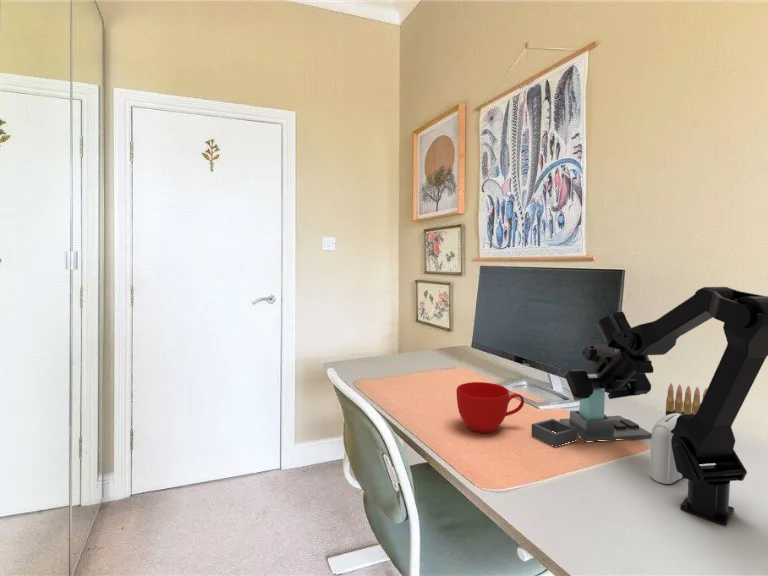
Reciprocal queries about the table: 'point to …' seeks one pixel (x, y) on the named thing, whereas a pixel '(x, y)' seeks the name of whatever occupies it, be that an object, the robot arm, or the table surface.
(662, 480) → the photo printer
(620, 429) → the switch
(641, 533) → the table surface
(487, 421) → the ceramic cup
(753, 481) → the table surface
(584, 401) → the aqua plug
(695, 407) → the ammunition clip
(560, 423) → the box
